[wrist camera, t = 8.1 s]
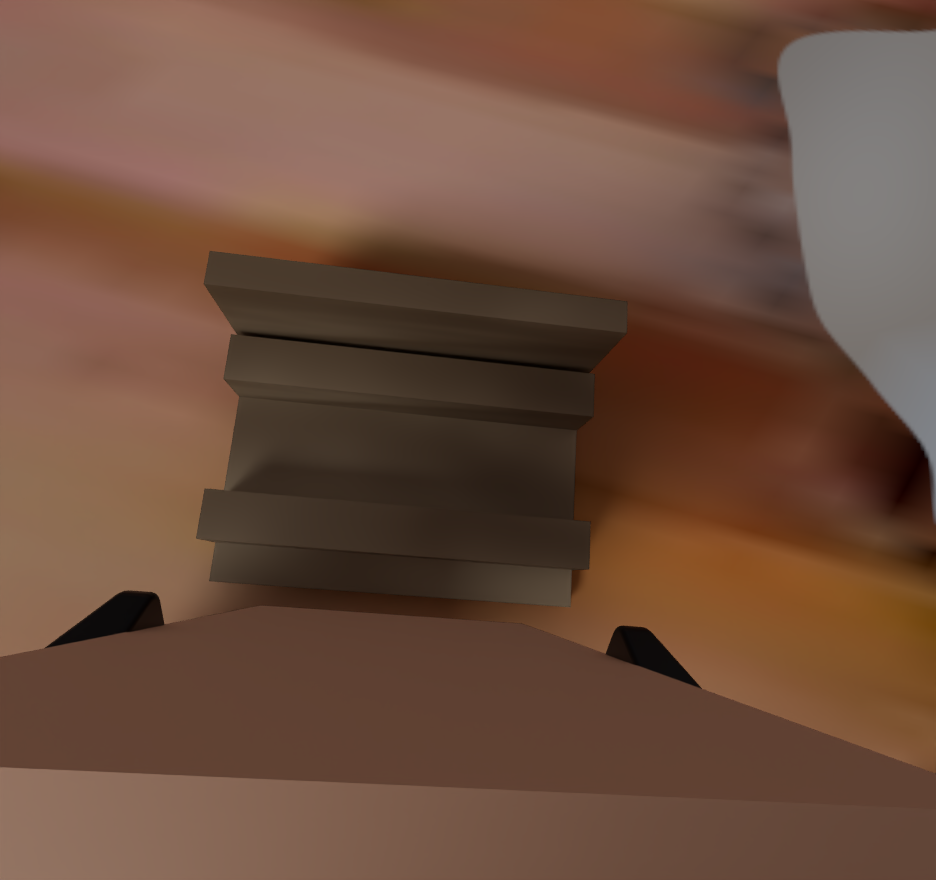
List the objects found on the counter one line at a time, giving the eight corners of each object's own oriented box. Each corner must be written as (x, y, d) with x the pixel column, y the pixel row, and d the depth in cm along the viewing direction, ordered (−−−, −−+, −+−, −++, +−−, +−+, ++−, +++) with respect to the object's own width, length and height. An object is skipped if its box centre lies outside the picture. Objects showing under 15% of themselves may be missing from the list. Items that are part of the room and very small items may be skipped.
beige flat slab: (516, 738, 14) (1142, 1583, 2) (244, 724, 13) (-837, 1755, 2) (522, 623, 14) (1043, 812, 3) (261, 605, 14) (-452, 746, 2)
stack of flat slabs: (562, 605, 22) (622, 616, 16) (217, 580, 21) (148, 582, 15) (571, 368, 24) (627, 301, 18) (257, 333, 23) (209, 251, 17)
